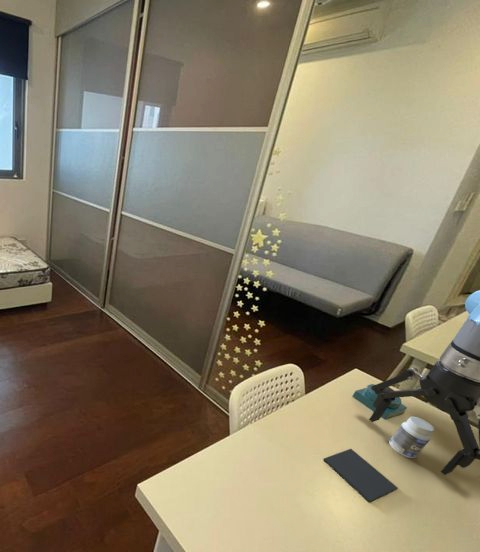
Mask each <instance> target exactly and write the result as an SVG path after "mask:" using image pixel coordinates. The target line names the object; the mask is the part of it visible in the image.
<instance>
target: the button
mask: <svg viewBox="0 0 480 552" xmlns="http://www.w3.org/2000/svg"><path fill="white" fill-rule="evenodd" d="M384 390H385V391H386V392H387V391H395V390H394V389H393V388H391V386H390V387H387V388H384ZM375 393H376V392H375ZM376 394H377V393H376ZM390 399H391V400H393V399H394V398H390Z"/></svg>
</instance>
